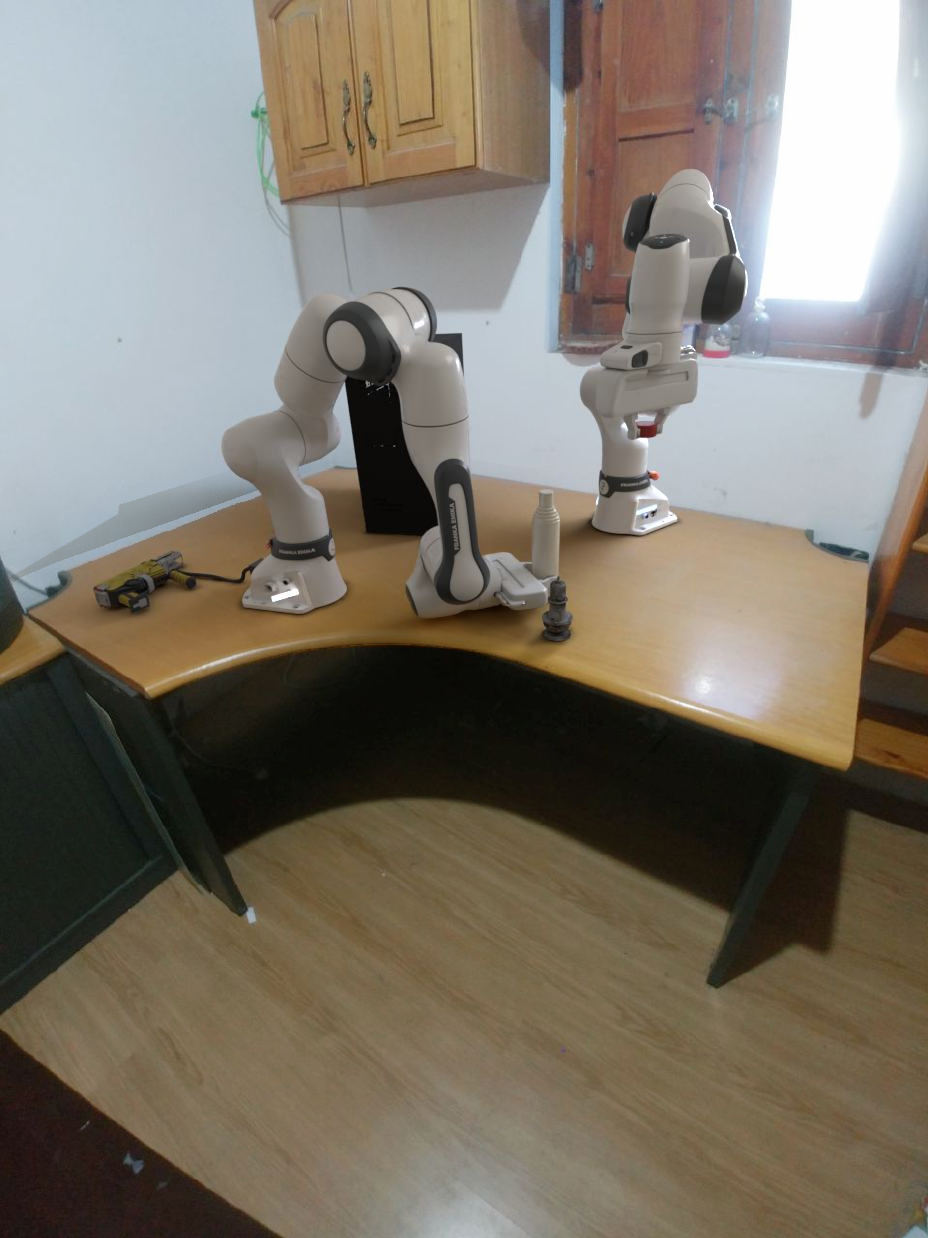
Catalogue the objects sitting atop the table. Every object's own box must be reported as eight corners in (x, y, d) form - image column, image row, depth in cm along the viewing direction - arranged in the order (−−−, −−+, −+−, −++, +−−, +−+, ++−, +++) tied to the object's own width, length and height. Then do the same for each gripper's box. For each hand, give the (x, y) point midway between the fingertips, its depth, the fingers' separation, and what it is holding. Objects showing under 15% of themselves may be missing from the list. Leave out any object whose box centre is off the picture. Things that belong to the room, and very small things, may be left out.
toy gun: (220, 558, 145) (169, 547, 149) (142, 600, 125) (86, 587, 129) (223, 576, 147) (173, 565, 151) (147, 620, 127) (92, 606, 131)
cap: (659, 433, 106) (661, 421, 105) (651, 439, 103) (652, 426, 102) (638, 431, 108) (639, 419, 107) (628, 436, 106) (629, 424, 105)
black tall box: (438, 535, 159) (423, 349, 136) (366, 532, 163) (340, 351, 140) (469, 489, 190) (461, 332, 168) (408, 488, 195) (393, 335, 172)
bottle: (541, 604, 124) (542, 497, 112) (526, 594, 128) (526, 490, 117) (563, 597, 126) (566, 492, 115) (547, 587, 130) (549, 484, 119)
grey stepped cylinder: (571, 642, 110) (574, 584, 104) (539, 640, 111) (540, 582, 105) (573, 626, 115) (576, 569, 109) (542, 624, 116) (543, 568, 110)
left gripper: (505, 593, 111) (572, 579, 115) (469, 552, 128) (529, 541, 131) (505, 623, 114) (571, 608, 118) (470, 579, 131) (528, 567, 135)
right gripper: (683, 343, 106) (673, 424, 113) (592, 356, 97) (587, 442, 104) (712, 345, 101) (700, 430, 108) (619, 359, 93) (612, 449, 99)
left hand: (548, 572), depth 125 cm, fingers closed on bottle, 5 cm apart
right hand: (644, 436), depth 106 cm, fingers closed on cap, 4 cm apart
